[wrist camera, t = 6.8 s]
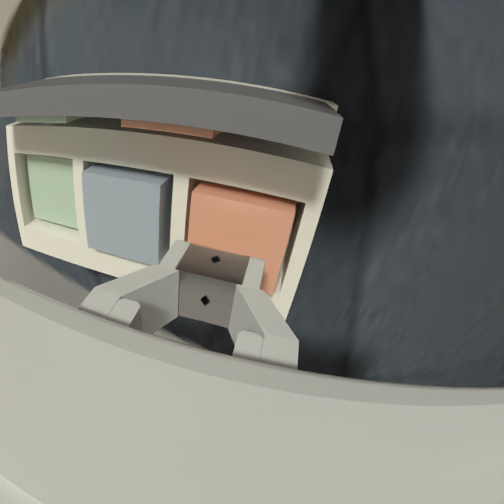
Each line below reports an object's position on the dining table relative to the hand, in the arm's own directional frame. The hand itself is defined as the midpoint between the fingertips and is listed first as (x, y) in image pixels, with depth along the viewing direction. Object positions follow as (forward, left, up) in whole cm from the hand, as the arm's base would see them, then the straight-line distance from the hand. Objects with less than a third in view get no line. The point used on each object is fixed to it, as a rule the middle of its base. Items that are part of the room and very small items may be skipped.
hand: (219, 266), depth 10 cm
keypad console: (+5, -1, -7) cm, 9 cm away
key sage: (+9, 0, -4) cm, 10 cm away
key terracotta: (0, 0, -3) cm, 3 cm away
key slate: (+4, 0, -3) cm, 6 cm away
